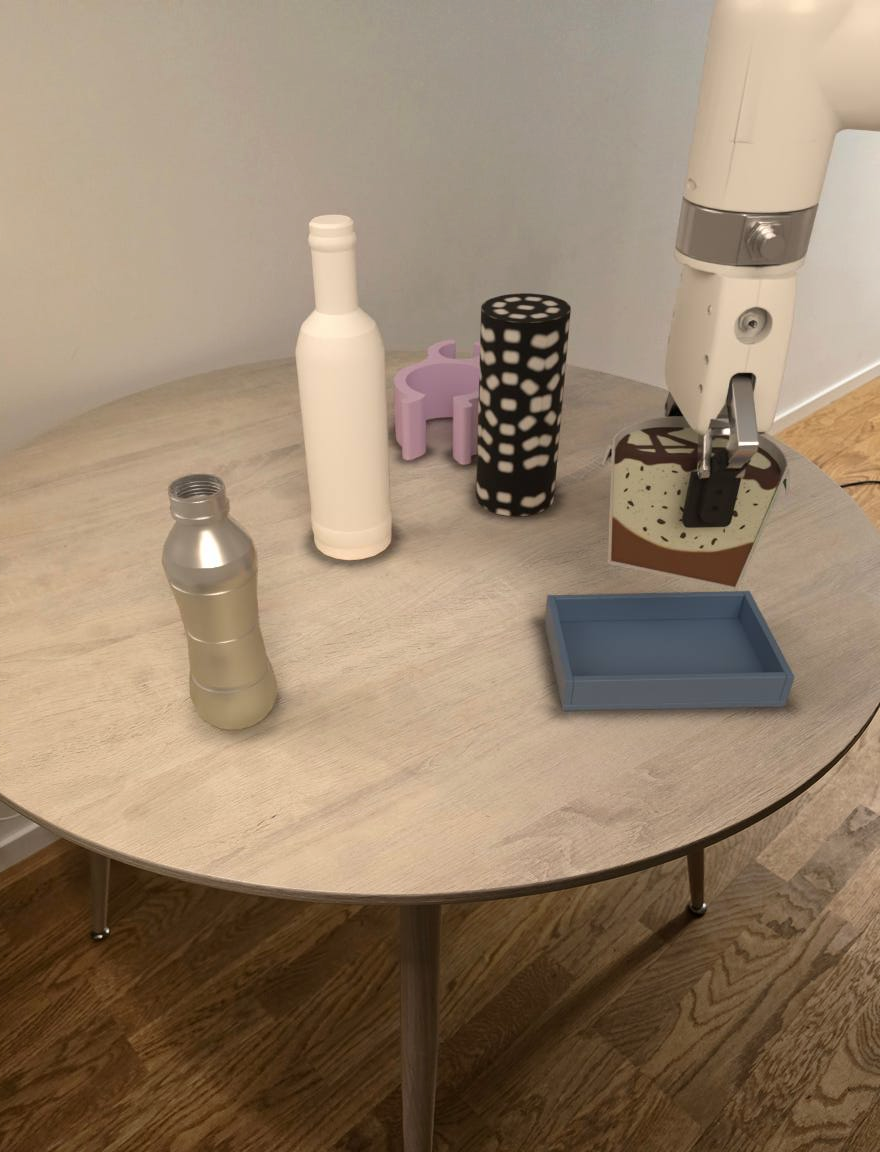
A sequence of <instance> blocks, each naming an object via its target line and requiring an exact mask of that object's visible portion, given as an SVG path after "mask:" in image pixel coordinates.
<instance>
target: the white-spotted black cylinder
mask: <svg viewBox="0 0 880 1152" xmlns="http://www.w3.org/2000/svg"><path fill="white" fill-rule="evenodd" d="M571 309H572V307H571V305H570V304H569V302H567V301H566V300H564V299H562V298H559V297H556V296H553V295H547V294H541V293H531V292H529V293H528V292H526V293H524V292H520V293H510V294H502V295H498V296H494V297H491V298H489V299H487V300H486V301H484V302H482V304H481V307H480V334H479V335H480V336H479V341H480V367H479V403H478V439H477V454H476V477H475V478H476V479H475V480H476V481H475V499H476V502H477V503H478V504H479V505H480V507H482V508H483V509H485V510H487V511H489V512H491V513H494V514H497V515H502V516H508V517H527V516H533V515H537V514H539V513H542V512H543V511H546V510H548V509H549V508H550V507H551V505H553V503H554V500H555V490H556V481H557V480H556V479H557V468H558V457H559V445H560V434H561V426H562V425H561V423H562V412H563V402H564V391H565V378H566V369H567V368H566V367H567V356H568V345H569V335H570V323H571V313H572V310H571Z"/></svg>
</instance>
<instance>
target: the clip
mask: <svg viewBox="0 0 880 1152" xmlns="http://www.w3.org/2000/svg"><path fill="white" fill-rule="evenodd" d="M456 343H457V342H456V340H455V339H446V340H442V341H438V342H435V343H433V344H432V345H431V346H429V347H428V349H427V358H425V359H424V360H422V361H419V362H416V363H413V364H411V365H408V366H405V367H404V368H402V369H401V370H399V371H398V372H397V373H396V374H395V376H394V378H393V395H394V396H393V398H394V425H395V427H394V428H395V439H396V442H397V444H399V446H400V447H401V448H402V449H401V454H402V457H401V458H402V459H403V460H405V461H413V460H414V459H418V458H420V457H422V456H423V455H425V454H426V453H427V428H426V427H427V421H428V420H429V421H430V420H433V419H434V420H435V419H441V418H452V459H454V460H455V461H456V462H457V463H458V464H459V465H461V466H466V465H467V466H468V465H470V464H471V463H472V456H475V455H477V439H478V403H479V367H480V340H478V341H476V342H474V347H473V349H474V350H473V357H470V358H462V359H461V358H460V359H459V358H456V351H457V350H456V349H457V348H456V345H457V344H456Z"/></svg>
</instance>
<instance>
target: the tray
mask: <svg viewBox="0 0 880 1152" xmlns="http://www.w3.org/2000/svg"><path fill="white" fill-rule="evenodd" d="M545 604H546V605H545V616H544V627H545V632H546V638H547V642H548V647H549V651H550V657H551V662H552V666H553V671H554V676H555V680H556V685H557V691H558V694H559V700H560V705H561V710H562V712H569V711H570V712H571V711H572V712H573V711H575V712H576V711H622V710H623V711H627V710H675V709H676V710H678V709H680V710H681V709H727V708H728V709H729V708H731V709H732V708H733V709H734V708H736V709H737V708H774V707H775V708H783V707H786V704H787V702H788V699H789V696H790V693H791V689H792V686H793V683H794V680H795V678H796V677H795V674H794V673H793V671H792V668H791V667H790V665H789V662H788V661H787V659H786V657H785V655H784V653H783V652H782V650H781V648H780V646H779V644H778V642H777V641H776V638H775V636H774V635H773V632H772V631H771V629H770V627H769V624H768V623H767V621H766V619H765V617H764V615H763V614H762V611H761V610H760V608H759V606H758V604H757V602H756V600H755V598H754V597H753V594H752V592H751V591H750V590H738V591H734V590H727V591H687V592H686V591H685V592H683V591H678V592H639V593H638V592H636V593H635V592H634V593H631V592H630V593H591V594H589V593H588V594H587V593H586V594H583V593H581V594H547V596H546V603H545Z"/></svg>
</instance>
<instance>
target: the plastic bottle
mask: <svg viewBox="0 0 880 1152" xmlns="http://www.w3.org/2000/svg"><path fill="white" fill-rule="evenodd" d="M167 495H168V500H169V503H170V506H169V510H170V515H171V518H172V519H173V520H174V523H173V525H172V527H171V529H170V530H169V532H168V534H167V537H166V538H165V541H164V544H163V547H162V553H161V554H162V555H161V564H162V568H163V572H164V574H165V577H166V580H167V583H168V585H169V587H170V590H171V592H172V595H173V598H174V600H175V603H176V605H177V608H178V611H179V614H180V617H181V621H182V624H183V628H184V633H185V635H186V643H187V651H188V660H189V661H188V663H189V677H188V678H189V679H188V680H189V681H188V685H189V687H188V688H189V696H190V700H191V702H192V704H193V706H194V708H195V710H196V712H197V714H198V716H199V717H200V718H201V719H202V720H204V721H206V722H207V723H209V724H210V725H212V726H213V727H216V728H219V729H221V730H233V731H234V730H242V729H246V728H249V727H252V726H255V725H256V724H258V723H260V722H261V721H262V720H264V719H265V718H266V717H267V715H269V713H270V712H271V710H272V709H273V708H274V705H275V702H276V699H277V688H278V686H277V685H278V683H277V678H276V675H275V672H274V669H273V666H272V663H271V660H270V658H269V656H268V653H267V649H266V645H265V641H264V638H263V634H262V633H263V632H262V630H261V625H260V624H261V623H260V615H259V602H258V601H259V600H258V578H259V577H258V576H259V575H258V574H259V573H258V572H259V557H258V556H259V555H258V546H257V545H256V542H255V541H254V539H253V537H252V535H251V533H250V532H249V531H248V530H247V529H246V527H244V526H243V525H242V524H241V523H240V521H238V520H236V519H235V518H234V517H233V516H232V515H230V511H231V503H230V499H229V497H228V494H227V489H226V485H225V482H224V480H223V479H222V478H221V477H219V476H218V475H214V474H210V473H192V474H187V475H183V476H180V477H178V478H176V479H175V480H172V482H170V483H169V484H168V487H167Z"/></svg>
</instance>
